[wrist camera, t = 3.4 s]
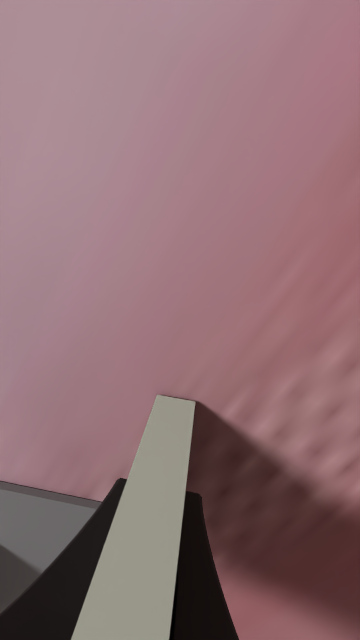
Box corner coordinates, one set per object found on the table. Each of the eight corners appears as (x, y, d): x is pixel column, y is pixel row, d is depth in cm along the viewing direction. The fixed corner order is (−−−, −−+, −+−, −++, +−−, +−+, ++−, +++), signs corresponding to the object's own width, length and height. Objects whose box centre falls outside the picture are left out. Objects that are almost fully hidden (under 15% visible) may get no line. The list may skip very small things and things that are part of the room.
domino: (195, 401, 12) (152, 791, 4) (179, 496, 14) (121, 935, 5) (156, 394, 12) (29, 757, 4) (145, 489, 14) (32, 907, 5)
